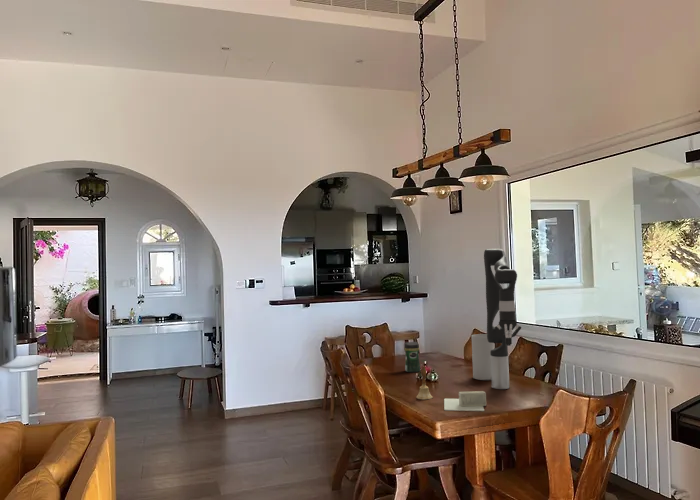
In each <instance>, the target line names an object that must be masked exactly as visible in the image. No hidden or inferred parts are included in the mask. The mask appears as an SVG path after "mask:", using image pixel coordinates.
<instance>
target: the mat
mask: <svg viewBox="0 0 700 500" xmlns="http://www.w3.org/2000/svg"><path fill="white" fill-rule="evenodd" d="M443 405H444V406H443V407H444V408H443V409H444V411H453V412H454V411H456V412H457V411H458V412H459V411H460V412H465V411H467V412H485V409H484V406H463V407H461V406H460V405H459V398H444V399H443Z"/></svg>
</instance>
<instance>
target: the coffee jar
mask: <svg viewBox="0 0 700 500" xmlns="http://www.w3.org/2000/svg"><path fill="white" fill-rule="evenodd" d="M403 346H404V347H403V348H404V352H405V363H404V370H405V372H407V373H418V372H421V363H420V356H419V352H420V345H419V343H418V342H417V341H410V342H405V343H404V345H403Z"/></svg>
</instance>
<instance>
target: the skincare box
mask: <svg viewBox="0 0 700 500" xmlns="http://www.w3.org/2000/svg"><path fill="white" fill-rule="evenodd" d="M458 399H459V405H460V406H461V407H463V406H483V407H485V406H487V393H486V391H484V390H477V391H475V390H474V391H473V390H471V391H470V390H469V391H458Z"/></svg>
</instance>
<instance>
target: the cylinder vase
mask: <svg viewBox="0 0 700 500" xmlns="http://www.w3.org/2000/svg"><path fill="white" fill-rule="evenodd" d="M494 344H495V343H489V342H488V340H487V333H478V334H472V335H471V353H472V354H471V359H472V360H471V361H472V378H473V379H475V380H478V381H491V355H490V351H491V350H492V349H495V347H494V346H495V345H494Z"/></svg>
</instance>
